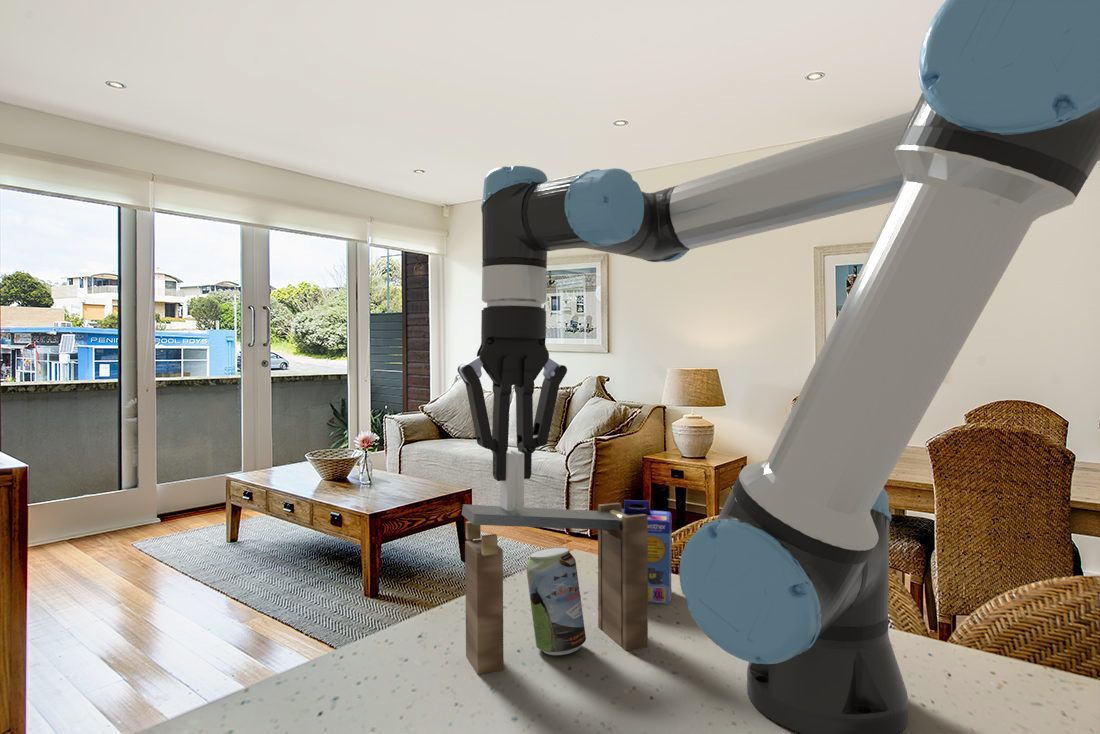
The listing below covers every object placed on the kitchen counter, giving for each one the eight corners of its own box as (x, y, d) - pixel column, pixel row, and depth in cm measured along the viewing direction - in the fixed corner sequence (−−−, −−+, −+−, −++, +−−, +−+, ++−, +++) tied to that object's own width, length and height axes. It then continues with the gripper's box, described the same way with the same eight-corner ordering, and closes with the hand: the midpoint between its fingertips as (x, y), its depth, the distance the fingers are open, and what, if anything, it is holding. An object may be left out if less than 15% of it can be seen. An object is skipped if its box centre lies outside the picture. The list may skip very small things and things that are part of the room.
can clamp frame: (618, 623, 87) (618, 502, 87) (647, 646, 80) (647, 515, 80) (463, 651, 79) (462, 518, 79) (480, 679, 72) (479, 534, 72)
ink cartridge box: (601, 600, 95) (601, 500, 95) (605, 587, 101) (605, 492, 100) (671, 605, 93) (671, 503, 93) (671, 591, 99) (671, 495, 98)
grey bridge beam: (617, 523, 85) (619, 509, 85) (637, 533, 81) (639, 518, 81) (461, 517, 78) (463, 501, 78) (473, 527, 73) (475, 511, 73)
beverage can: (574, 666, 75) (573, 561, 75) (517, 654, 78) (516, 553, 78) (594, 644, 81) (593, 546, 81) (540, 633, 84) (539, 539, 84)
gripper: (555, 309, 83) (552, 496, 84) (448, 305, 78) (447, 504, 78) (580, 306, 76) (577, 510, 77) (465, 301, 71) (463, 520, 71)
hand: (511, 507), depth 78 cm, fingers closed
